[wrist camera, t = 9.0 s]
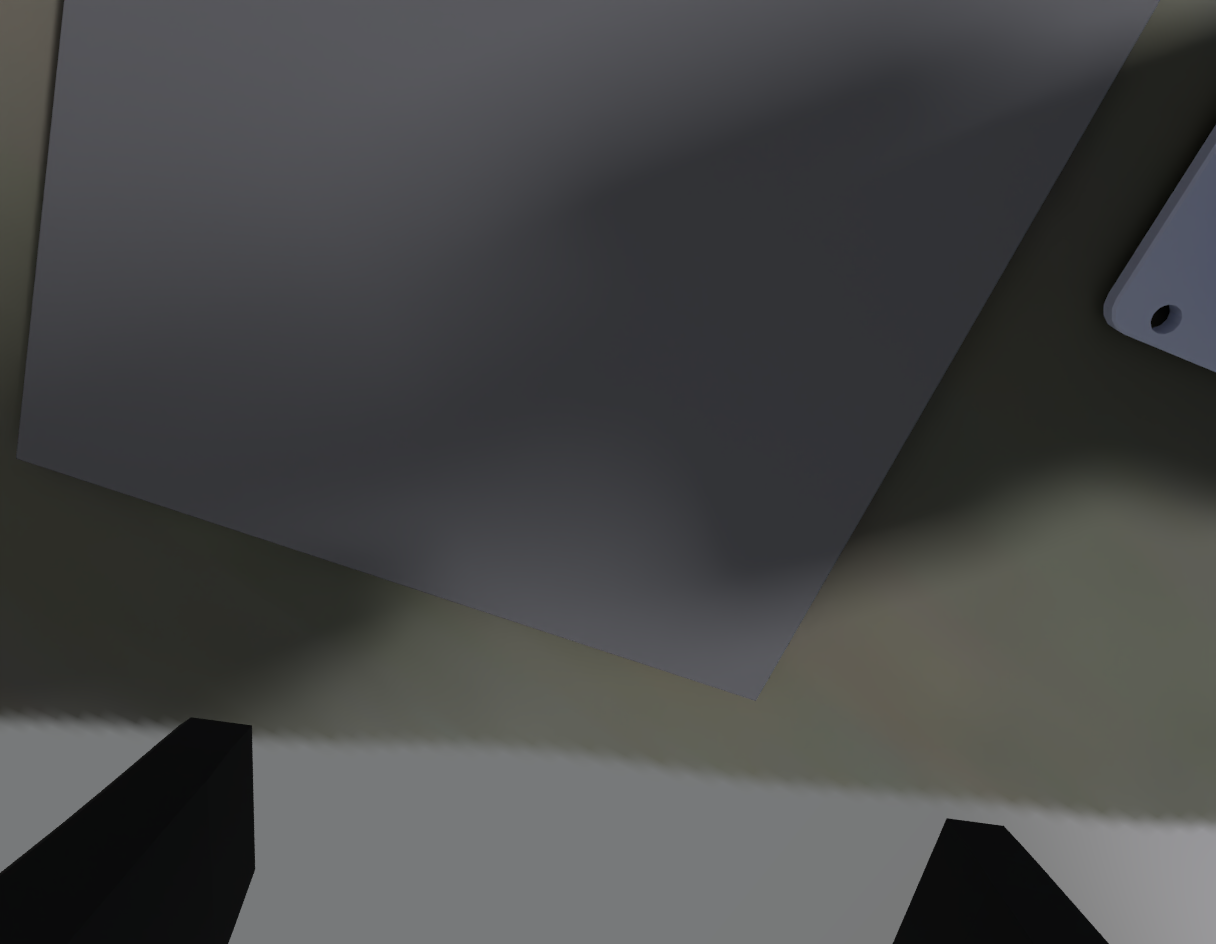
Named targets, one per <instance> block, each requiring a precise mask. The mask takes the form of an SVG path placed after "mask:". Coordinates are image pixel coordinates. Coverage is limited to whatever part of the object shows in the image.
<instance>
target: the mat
mask: <svg viewBox="0 0 1216 944" xmlns="http://www.w3.org/2000/svg"><path fill="white" fill-rule="evenodd" d="M1159 1H1160V0H64V7H63V17H62V26H61V36H60V45H59V55H58V65H57V74H56V84H55V93H54V103H53V112H52V122H51V131H50V141H49V150H48V160H47V169H46V179H45V188H44V198H43V207H42V217H41V226H40V236H39V245H38V255H37V264H36V274H35V283H34V293H33V302H32V312H31V321H30V331H29V340H28V350H27V359H26V369H25V378H24V388H23V397H22V407H21V416H20V426H19V435H18V445H17V454H16V459H19V460H22V461H25V462H28V463H32V464H35V465H38V466H41V467H44V468H47V469H50V470H53V471H56V472H59V473H62V474H65V475H68V476H71V477H74V478H77V479H80V480H83V481H86V482H90V483H93V484H96V485H99V486H102V487H105V488H108V489H111V490H114V491H117V492H120V493H123V494H126V495H129V496H132V497H135V498H138V499H141V500H144V501H147V502H151V503H154V504H157V505H160V506H163V507H166V508H169V509H172V510H175V511H178V512H181V513H184V514H187V515H190V516H193V517H196V518H199V519H202V520H205V521H208V522H212V523H215V524H218V525H221V526H224V527H227V528H230V529H233V530H236V531H239V532H242V533H245V534H248V535H251V536H254V537H257V538H260V539H263V540H266V541H270V542H273V543H276V544H279V545H282V546H285V547H288V548H291V549H294V550H297V551H300V552H303V553H306V554H309V555H312V556H315V557H318V558H321V559H324V560H327V561H331V562H334V563H337V564H340V565H343V566H346V567H349V568H352V569H355V570H358V571H361V572H364V573H367V574H370V575H373V576H376V577H379V578H382V579H385V580H389V581H392V582H395V583H398V584H401V585H404V586H407V587H410V588H413V589H416V590H419V591H422V592H425V593H428V594H431V595H434V596H437V597H440V598H443V599H446V600H450V601H453V602H456V603H459V604H462V605H465V606H468V607H471V608H474V609H477V610H480V611H483V612H486V613H489V614H492V615H495V616H498V617H501V618H504V619H507V620H511V621H514V622H517V623H520V624H523V625H526V626H529V627H532V628H535V629H538V630H541V631H544V632H547V633H550V634H553V635H556V636H559V637H562V638H565V639H569V640H572V641H575V642H578V643H581V644H584V645H587V646H590V647H593V648H596V649H599V650H602V651H605V652H608V653H611V654H614V655H617V656H620V657H623V658H626V659H630V660H633V661H636V662H639V663H642V664H645V665H648V666H651V667H654V668H657V669H660V670H663V671H666V672H669V673H672V674H675V675H678V676H681V677H684V678H687V679H691V680H694V681H697V682H700V683H703V684H706V685H709V686H712V687H715V688H718V689H721V690H724V691H727V692H730V693H733V694H736V695H739V696H742V697H745V698H749V699H752V700H755V701H756V699H757V698H758V696H759V694H760V692H761V691H762V689H763V687H764V685H765V684H766V682H767V680H768V679H769V677H770V675H771V673H772V672H773V670H774V668H775V666H776V665H777V663H778V661H779V659H780V658H781V656H782V654H783V653H784V651H785V649H786V647H787V646H788V644H789V642H790V640H791V639H792V637H793V635H794V633H795V632H796V630H797V628H798V627H799V625H800V623H801V621H802V620H803V618H804V616H805V614H806V613H807V611H808V609H809V608H810V606H811V604H812V602H813V601H814V599H815V597H816V595H817V594H818V592H819V590H820V588H821V587H822V585H823V583H824V582H825V580H826V578H827V576H828V575H829V573H830V571H831V569H832V568H833V566H834V564H835V562H836V561H837V559H838V557H839V556H840V554H841V552H842V550H843V549H844V547H845V545H846V543H847V542H848V540H849V538H850V536H851V535H852V533H853V531H854V530H855V528H856V526H857V524H858V523H859V521H860V519H861V517H862V516H863V514H864V512H865V511H866V509H867V507H868V505H869V504H870V502H871V500H872V498H873V497H874V495H875V493H876V491H877V490H878V488H879V486H880V485H881V483H882V481H883V479H884V478H885V476H886V474H887V472H888V471H889V469H890V467H891V465H892V464H893V462H894V460H895V459H896V457H897V455H898V453H899V452H900V450H901V448H902V446H903V445H904V443H905V441H906V440H907V438H908V436H909V434H910V433H911V431H912V429H913V427H914V426H915V424H916V422H917V420H918V419H919V417H920V415H921V414H922V412H923V410H924V408H925V407H926V405H927V403H928V401H929V400H930V398H931V396H932V394H933V393H934V391H935V389H936V388H937V386H938V384H939V382H940V381H941V379H942V377H943V375H944V374H945V372H946V370H947V369H948V367H949V365H950V363H951V362H952V360H953V358H954V356H955V355H956V353H957V351H958V349H959V348H960V346H961V344H962V343H963V341H964V339H965V337H966V336H967V334H968V332H969V330H970V329H971V327H972V325H973V323H974V322H975V320H976V318H977V317H978V315H979V313H980V311H981V310H982V308H983V306H984V304H985V303H986V301H987V299H988V298H989V296H990V294H991V292H992V291H993V289H994V287H995V285H996V284H997V282H998V280H999V278H1000V277H1001V275H1002V273H1003V272H1004V270H1005V268H1006V266H1007V265H1008V263H1009V261H1010V259H1011V258H1012V256H1013V254H1014V252H1015V251H1016V249H1017V247H1018V246H1019V244H1020V242H1021V240H1022V239H1023V237H1024V235H1025V233H1026V232H1027V230H1028V228H1029V227H1030V225H1031V223H1032V221H1033V220H1034V218H1035V216H1036V214H1037V213H1038V211H1039V209H1040V207H1041V206H1042V204H1043V202H1044V201H1045V199H1046V197H1047V195H1048V194H1049V192H1050V190H1051V188H1052V187H1053V185H1054V183H1055V181H1056V180H1057V178H1058V176H1059V175H1060V173H1061V171H1062V169H1063V168H1064V166H1065V164H1066V162H1067V161H1068V159H1069V157H1070V156H1071V154H1072V152H1073V150H1074V149H1075V147H1076V145H1077V143H1078V142H1079V140H1080V138H1081V136H1082V135H1083V133H1084V131H1085V130H1086V128H1087V126H1088V124H1089V123H1090V121H1091V119H1092V117H1093V116H1094V114H1095V112H1096V110H1097V109H1098V107H1099V105H1100V104H1101V102H1102V100H1103V98H1104V97H1105V95H1106V93H1107V91H1108V90H1109V88H1110V86H1111V85H1112V83H1113V81H1114V79H1115V78H1116V76H1117V74H1118V72H1119V71H1120V69H1121V67H1122V65H1123V64H1124V62H1125V60H1126V59H1127V57H1128V55H1129V53H1130V52H1131V50H1132V48H1133V46H1134V45H1135V43H1136V41H1137V39H1138V38H1139V36H1140V34H1141V33H1142V31H1143V29H1144V27H1145V26H1146V24H1147V22H1148V20H1149V19H1150V17H1151V15H1152V14H1153V12H1154V10H1155V8H1156V7H1157V5H1158V3H1159Z"/></svg>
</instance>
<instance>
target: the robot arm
mask: <svg viewBox="0 0 1216 944" xmlns="http://www.w3.org/2000/svg"><path fill="white" fill-rule="evenodd" d="M1166 305H1169V308H1170V313H1169V315H1168V318H1167V319H1166V320H1165V321H1164V322H1163V323H1162V324H1161V325H1159V326H1157V327H1154V328H1152V327H1151V319H1152V316H1153V314H1154V313H1155V312H1156V311H1157V310H1158V309H1159V308H1161V307H1163V306H1166ZM1104 317H1105V319H1106V321H1107V323H1108V324H1109V325H1110V326H1111V327H1113V328H1114V329H1115V330H1117V331H1119V332H1121V333H1122V334H1124V335H1127V336H1129V337H1131V338H1134V339H1136V340H1139V341H1141V342H1144V343H1146V344H1148V345H1151V346H1153V347H1156V348H1158V349H1160V350H1163V351H1165V352H1168V353H1170V354H1173V355H1175V356H1177V357H1180V358H1182V359H1185V360H1187V361H1190V362H1192V363H1194V364H1197V365H1199V366H1202V367H1204V368H1207V369H1209V370H1211V371H1214V372H1216V125H1215V127H1214V128H1213V130H1212V131H1211V133H1210V134H1209V136H1208V138H1207V139H1206V141H1205V142H1204V144H1203V145H1202V147H1201V149H1200V150H1199V152H1198V153H1197V155H1196V157H1195V158H1194V160H1193V161H1192V163H1191V164H1190V166H1189V168H1188V169H1187V171H1186V172H1185V174H1184V175H1183V177H1182V179H1181V180H1180V182H1179V183H1178V185H1177V186H1176V188H1175V190H1174V191H1173V193H1172V194H1171V196H1170V197H1169V199H1168V201H1167V202H1166V204H1165V205H1164V207H1163V208H1162V210H1161V212H1160V213H1159V215H1158V216H1157V218H1156V219H1155V221H1154V223H1153V224H1152V226H1151V227H1150V229H1149V230H1148V232H1147V234H1146V235H1145V237H1144V238H1143V240H1142V241H1141V243H1140V245H1139V246H1138V248H1137V249H1136V251H1135V252H1134V254H1133V256H1132V257H1131V259H1130V260H1129V262H1128V264H1127V265H1126V267H1125V268H1124V270H1123V271H1122V273H1121V275H1120V276H1119V278H1118V279H1117V281H1116V282H1115V284H1114V286H1113V287H1112V289H1111V290H1110V292H1109V293H1108V295H1107V298H1106V300H1105V303H1104ZM254 846H255V845H254V802H253V761H252V726H251V725H244V724H236V723H229V722H221V721H214V720H206V719H199V718H190V719H188V720H187V721H185V722H184V723H182V724H181V725H179V726H178V727H177V728H176V729H175V730H173V731H172V732H171V733H170V734H169V735H167V736H166V737H165V738H164V739H163V740H161V741H160V742H159V743H158V744H157V745H156V746H154V747H153V748H152V749H151V750H150V751H148V752H147V753H146V754H145V755H144V756H142V757H141V758H140V759H139V760H138V761H137V762H135V763H134V764H133V765H132V766H131V767H130V768H128V769H127V770H126V771H125V772H124V773H122V774H121V775H120V776H119V777H118V778H116V779H115V780H114V781H113V782H112V783H111V784H109V785H108V786H107V787H106V788H105V789H103V790H102V791H101V792H100V793H99V794H97V795H96V796H95V797H94V798H93V799H91V800H90V801H89V802H88V803H86V804H85V805H84V806H83V807H82V808H80V809H79V810H78V811H77V812H76V813H74V814H73V815H72V816H71V817H70V818H68V819H67V820H66V821H65V822H63V823H62V824H61V825H60V826H59V827H57V828H56V829H55V830H53V831H52V832H51V833H50V834H48V835H47V836H46V837H45V838H43V839H42V840H41V841H40V842H38V843H37V844H36V845H35V846H33V847H32V848H31V849H30V850H28V851H27V852H26V853H25V854H23V855H22V856H21V857H20V858H18V859H17V860H16V861H15V862H13V863H12V864H11V865H10V866H8V867H7V868H6V869H4V870H3V871H2V872H1V873H0V944H228V942H229V940H230V937H231V934H232V932H233V929H234V927H235V924H236V921H237V918H238V915H239V913H240V910H241V907H242V904H243V901H244V899H245V896H246V893H247V890H248V888H249V885H250V882H251V879H252V876H253V874H254V871H255V848H254ZM893 944H1109V943H1108V942H1107V941H1106V940H1105V939H1104V938H1103V937H1102V935H1101V934H1100V933H1099V932H1098V931H1097V930H1096V929H1095V928H1094V926H1093V925H1092V924H1091V923H1090V922H1089V921H1088V920H1087V919H1086V917H1085V916H1084V915H1083V914H1082V913H1081V912H1080V911H1079V910H1078V908H1077V907H1076V906H1075V905H1074V904H1073V903H1072V901H1071V900H1070V899H1069V898H1068V897H1067V896H1066V895H1065V894H1064V892H1063V891H1062V890H1061V889H1060V888H1059V887H1058V886H1057V885H1056V883H1055V882H1054V881H1053V880H1052V879H1051V878H1050V877H1049V875H1048V874H1047V873H1046V872H1045V871H1044V870H1043V868H1042V867H1041V866H1040V865H1039V864H1038V863H1037V862H1036V861H1035V860H1034V858H1032V856H1031V855H1030V854H1029V853H1028V852H1027V851H1026V850H1025V849H1024V847H1023V846H1022V845H1021V844H1020V843H1019V842H1018V841H1017V840H1016V839H1015V838H1014V837H1013V836H1012V834H1011V833H1010V832H1009V831H1008V830H1007V829H1006V828H1005V827H1004V826H999V825H992V824H985V823H977V822H970V821H962V820H954V819H946V821H945V824H944V826H943V828H942V831H941V833H940V836H939V838H938V840H937V843H936V845H935V847H934V849H933V852H932V854H931V856H930V858H929V861H928V863H927V865H926V868H925V870H924V873H923V875H922V877H921V880H920V882H919V884H918V886H917V889H916V891H915V893H914V896H913V898H912V900H911V903H910V905H909V907H908V910H907V912H906V915H905V917H904V919H903V921H902V924H901V926H900V928H899V930H898V933H897V935H896V937H895V940H894V942H893Z"/></svg>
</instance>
